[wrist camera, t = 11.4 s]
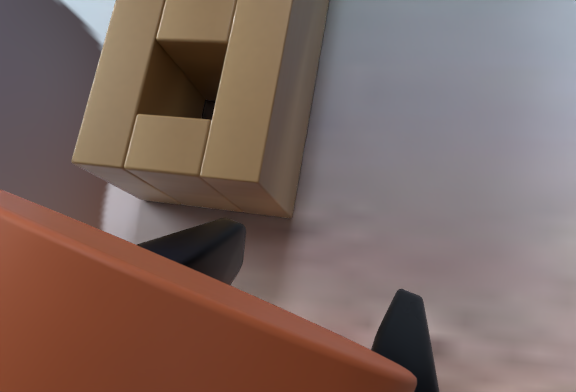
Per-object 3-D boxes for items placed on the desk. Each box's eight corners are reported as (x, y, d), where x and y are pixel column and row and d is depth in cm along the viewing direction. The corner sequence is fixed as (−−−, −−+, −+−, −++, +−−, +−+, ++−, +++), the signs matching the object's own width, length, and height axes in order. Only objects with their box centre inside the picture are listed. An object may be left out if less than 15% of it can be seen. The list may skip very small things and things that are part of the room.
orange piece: (385, 421, 15) (199, 1056, 2) (258, 360, 16) (-466, 414, 3) (410, 356, 15) (432, 404, 2) (284, 300, 16) (-254, 88, 3)
